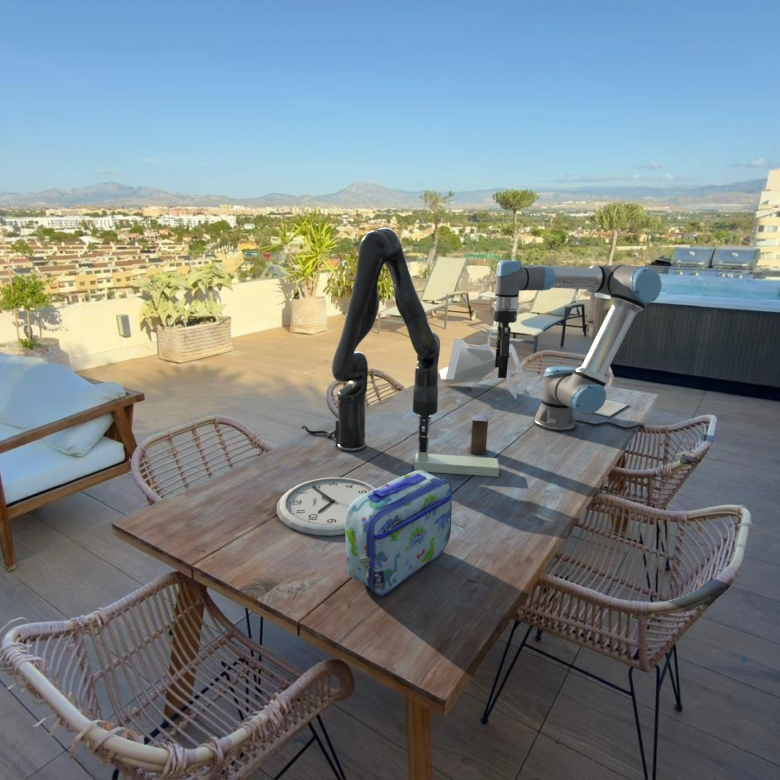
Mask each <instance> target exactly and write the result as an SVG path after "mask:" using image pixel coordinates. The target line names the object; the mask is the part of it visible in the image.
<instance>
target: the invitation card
mask: <svg viewBox="0 0 780 780" xmlns="http://www.w3.org/2000/svg"><path fill="white" fill-rule="evenodd" d="M628 406H629V404H627V403H623V402H618V401H614V400H609V399H606V400H605V403H604V404H603V406H602V407H601V408H600V409H599V410H597V411H596V412H593V413H592V414H596V415H600V416H604V417H608V418H609V417H611V416H613V415H614V414H616V413H617V412H619V411H621V410H623V409H624V408H626V407H628Z"/></svg>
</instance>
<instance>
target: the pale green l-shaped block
mask: <svg viewBox="0 0 780 780" xmlns="http://www.w3.org/2000/svg"><path fill="white" fill-rule="evenodd" d="M421 437H424V438H426V437H425V436H421ZM427 439H428V441H427V452H420V442H419V441H418V452H415V457H414V465H413V467H414V468H413V472H414V471H417V470H422V471H425V472H427V473H439V474H440V473H441V474H455V475H467V476H468V475H469V476H483V477H484V476H485V477H497V478H499V473H500V465H499V460H498V458H497V457H496V458H495V457H484V456H483V457H482V456H481V457H480V456H468V455H467V456H465V455H453V454H452V455H451V454H435V453H429V447H430V446H429V444H430V433H429V434H428V438H427Z"/></svg>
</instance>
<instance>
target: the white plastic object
mask: <svg viewBox="0 0 780 780" xmlns="http://www.w3.org/2000/svg"><path fill="white" fill-rule="evenodd" d="M493 314H494V311H492V315H493ZM495 324H496V325H495V326H496V328H498V326H499V323H498V322H495ZM495 358H496V349H493V348H492V347H491V346H490V344H489V343H488V342H487V343H483V344H479V345H473V346H469V345H468V343H466V342H465V340H464V339H463V338H460V339H458V338H454V340H453V344H452V349H451V353H450V357H449V362H448V366H446V367H444V368H442V369H440V370H439V369H438V373H439V376H440V381H442V383H443V384H444V385H445V386H449V385H458V384H467V383H468V384H469V383H473V384H477V383H480V382H482V381H484V378H485V377H486V376H487V375H489V374H490V373H492V372H494V371H495V370H496V369H498V367H495ZM510 360H513V363H514V366H515V369H516V372H517V376H518V380H519V382H520V385H521V389H522V391H523V393H524V395H525V396H526V397H528V396H531V395H530V390H529V388H528V387H529V386H528V384H527V381H526V378H525V375H524V371H523V369H522V368H523V367H522V366H521V362H520V359H519V355H518V352H517V349H516V347H515V346H514V345H513V343H509V358H508V361H510ZM505 380H506V383H507V386H508V390H509V393H510V394H511V395H512V397H513V398H514V399H515V400H517V392H516V391H517V390H516V388H515V385H514V381H513V378H512V375H511V371H510V369H509V365H508V366H507V378H505Z"/></svg>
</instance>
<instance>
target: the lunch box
mask: <svg viewBox="0 0 780 780" xmlns="http://www.w3.org/2000/svg"><path fill="white" fill-rule="evenodd" d="M452 503H453V501H452V484H451V483H450V481H449V480H448V479H445V478H438V477H436V476H435V475H433V474H431V473H430V472H425V471H422V470H417V471H414V470H413V471H411V472H409V473H407V474H404V475H402V476H399V477H398V478H396V479H393V480H391V481H388V482H387V483H385V484H382V485H381V486H379V487H376V489H374V490H372V491H370V492H368V493H366V494H364V495H362V496H360V497H358V498H356V499H355V500H354V501H353V502H352V503H351V505H350V506H349V508H348V510H347V513H346V517H345V534H344V535H345V561H346V571H347V574H348V576H349V577H350V578H352V579H354V580H356V581H358V582H359V583H361V584H363V585H364V586H366V587H367V588H369V590H370V591H371V592H372V593H374V594H376V595H378V596H385V595H386V594H389V593H390V592H391V591H392V590H393V589H395V588H396V587H397V586H398V585H400V584H401V583H402V582H404V581H405V580H407V579H409V578H410V577H411V576H412V575H414V574H415V573H416V572H418V571H419V570H420V569H421V568H422V567H424V566H425V565H427V564H428V563H430V562H431V561H433V560H435V559H436V558H438V557H440V556H441V554H442V553H443V552H444V551H445V549H446V548H447V546H448V543H449V540H450V537H451V533H452V532H451V531H452V511H453V510H452V509H453V508H452V507H453V504H452Z"/></svg>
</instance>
